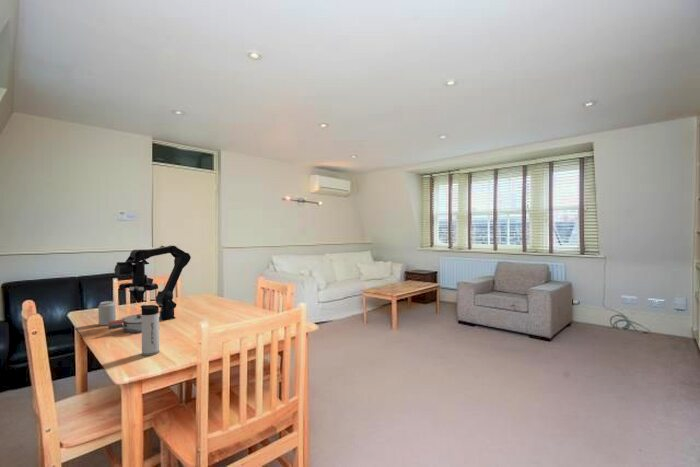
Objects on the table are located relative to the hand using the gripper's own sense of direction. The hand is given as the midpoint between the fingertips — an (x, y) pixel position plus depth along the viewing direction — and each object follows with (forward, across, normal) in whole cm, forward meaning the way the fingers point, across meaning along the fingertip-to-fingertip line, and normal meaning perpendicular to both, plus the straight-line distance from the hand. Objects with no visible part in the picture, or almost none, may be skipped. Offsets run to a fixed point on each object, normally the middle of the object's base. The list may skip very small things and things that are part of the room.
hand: (138, 302), depth 181 cm
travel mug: (+12, -34, +35) cm, 50 cm away
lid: (+7, -4, +9) cm, 12 cm away
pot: (+12, -5, +7) cm, 15 cm away
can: (+12, +19, 0) cm, 22 cm away
